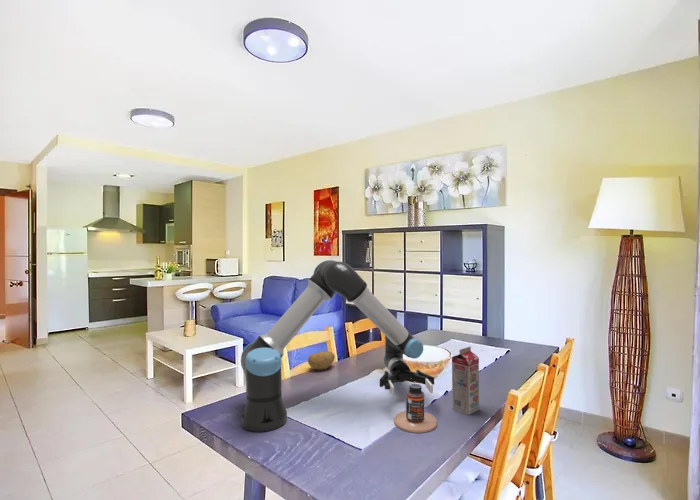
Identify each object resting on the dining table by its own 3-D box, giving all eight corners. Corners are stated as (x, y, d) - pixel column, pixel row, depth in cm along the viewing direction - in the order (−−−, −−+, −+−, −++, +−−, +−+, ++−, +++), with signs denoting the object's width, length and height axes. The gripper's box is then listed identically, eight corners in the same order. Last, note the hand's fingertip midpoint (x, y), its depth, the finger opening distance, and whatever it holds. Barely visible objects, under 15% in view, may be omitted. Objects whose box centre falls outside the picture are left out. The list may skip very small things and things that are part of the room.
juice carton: (452, 408, 136) (451, 347, 136) (462, 403, 140) (462, 344, 140) (468, 415, 131) (468, 351, 130) (479, 409, 135) (478, 348, 135)
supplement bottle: (410, 424, 122) (410, 389, 122) (403, 416, 128) (403, 383, 128) (427, 422, 124) (427, 387, 124) (419, 414, 130) (419, 381, 129)
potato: (339, 368, 182) (339, 351, 182) (314, 374, 173) (314, 357, 173) (328, 363, 189) (328, 347, 189) (304, 369, 181) (303, 352, 181)
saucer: (431, 436, 117) (431, 433, 117) (388, 427, 122) (388, 424, 122) (440, 417, 129) (440, 414, 129) (400, 410, 135) (400, 407, 135)
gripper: (429, 377, 152) (447, 399, 131) (368, 380, 150) (376, 402, 129) (429, 359, 152) (447, 377, 131) (368, 361, 150) (376, 380, 129)
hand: (412, 390), depth 130 cm, fingers open, 13 cm apart
